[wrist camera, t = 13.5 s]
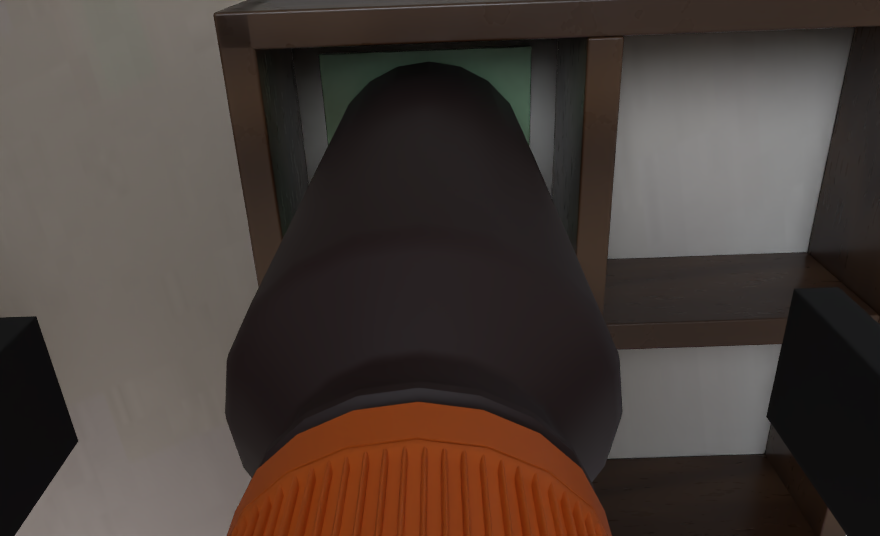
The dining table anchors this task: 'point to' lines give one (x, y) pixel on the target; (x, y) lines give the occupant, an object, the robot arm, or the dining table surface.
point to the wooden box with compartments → (594, 198)
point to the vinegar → (424, 335)
